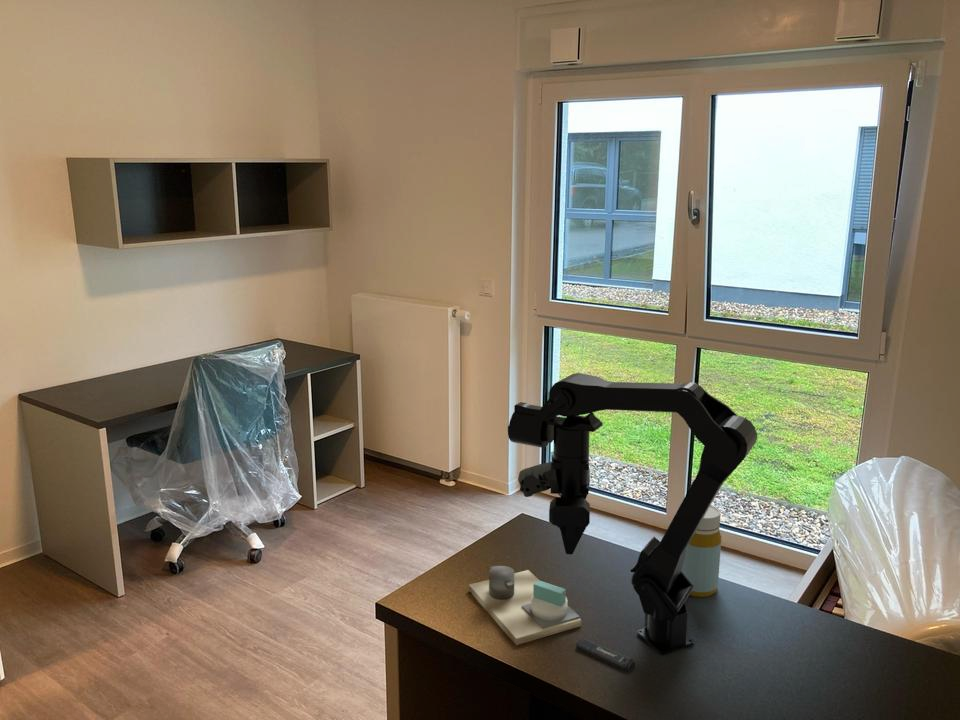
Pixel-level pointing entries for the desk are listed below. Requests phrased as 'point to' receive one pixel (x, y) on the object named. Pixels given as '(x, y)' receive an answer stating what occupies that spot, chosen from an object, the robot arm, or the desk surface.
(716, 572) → the bottle
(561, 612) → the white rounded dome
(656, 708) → the desk surface
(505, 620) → the board
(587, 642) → the usb stick
